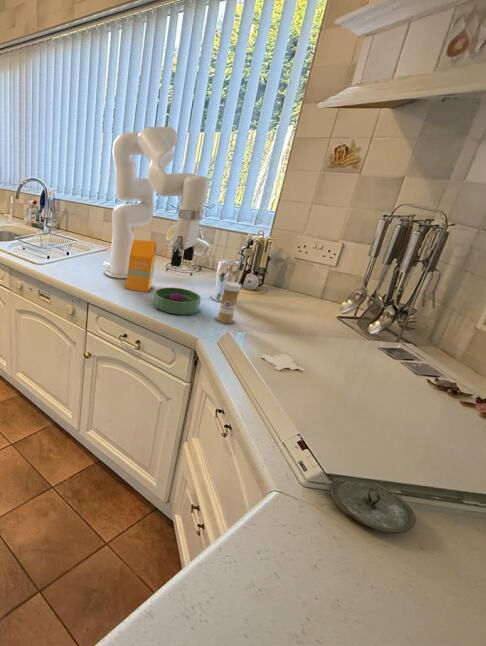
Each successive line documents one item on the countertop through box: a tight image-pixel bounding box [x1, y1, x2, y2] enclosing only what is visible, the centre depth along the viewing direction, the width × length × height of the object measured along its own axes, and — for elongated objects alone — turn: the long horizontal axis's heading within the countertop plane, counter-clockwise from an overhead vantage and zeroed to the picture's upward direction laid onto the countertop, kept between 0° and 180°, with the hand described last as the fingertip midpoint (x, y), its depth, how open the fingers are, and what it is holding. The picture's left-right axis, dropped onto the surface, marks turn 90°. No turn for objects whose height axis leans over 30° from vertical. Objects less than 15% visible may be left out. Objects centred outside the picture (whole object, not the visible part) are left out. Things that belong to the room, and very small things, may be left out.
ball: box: [169, 293, 184, 302], centre depth 144 cm, size 5×5×5 cm
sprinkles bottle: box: [217, 281, 242, 324], centre depth 131 cm, size 5×5×14 cm
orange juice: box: [125, 239, 157, 293], centre depth 161 cm, size 8×9×20 cm
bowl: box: [153, 287, 202, 315], centre depth 144 cm, size 15×15×5 cm
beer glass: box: [212, 258, 240, 303], centre depth 149 cm, size 7×7×15 cm
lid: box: [329, 479, 417, 534], centre depth 65 cm, size 11×10×5 cm
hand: (181, 262), depth 139 cm, fingers open, 9 cm apart
